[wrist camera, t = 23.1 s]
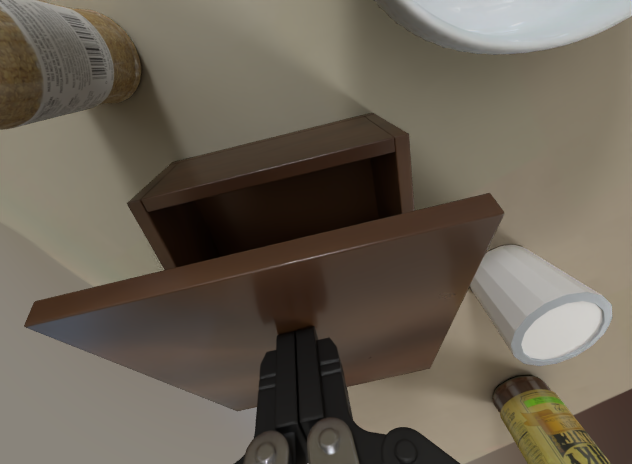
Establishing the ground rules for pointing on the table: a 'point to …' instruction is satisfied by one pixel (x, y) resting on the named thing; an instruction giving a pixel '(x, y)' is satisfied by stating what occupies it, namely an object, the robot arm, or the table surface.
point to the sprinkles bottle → (60, 61)
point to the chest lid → (288, 303)
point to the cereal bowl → (506, 22)
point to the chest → (276, 190)
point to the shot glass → (538, 306)
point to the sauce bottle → (543, 424)
